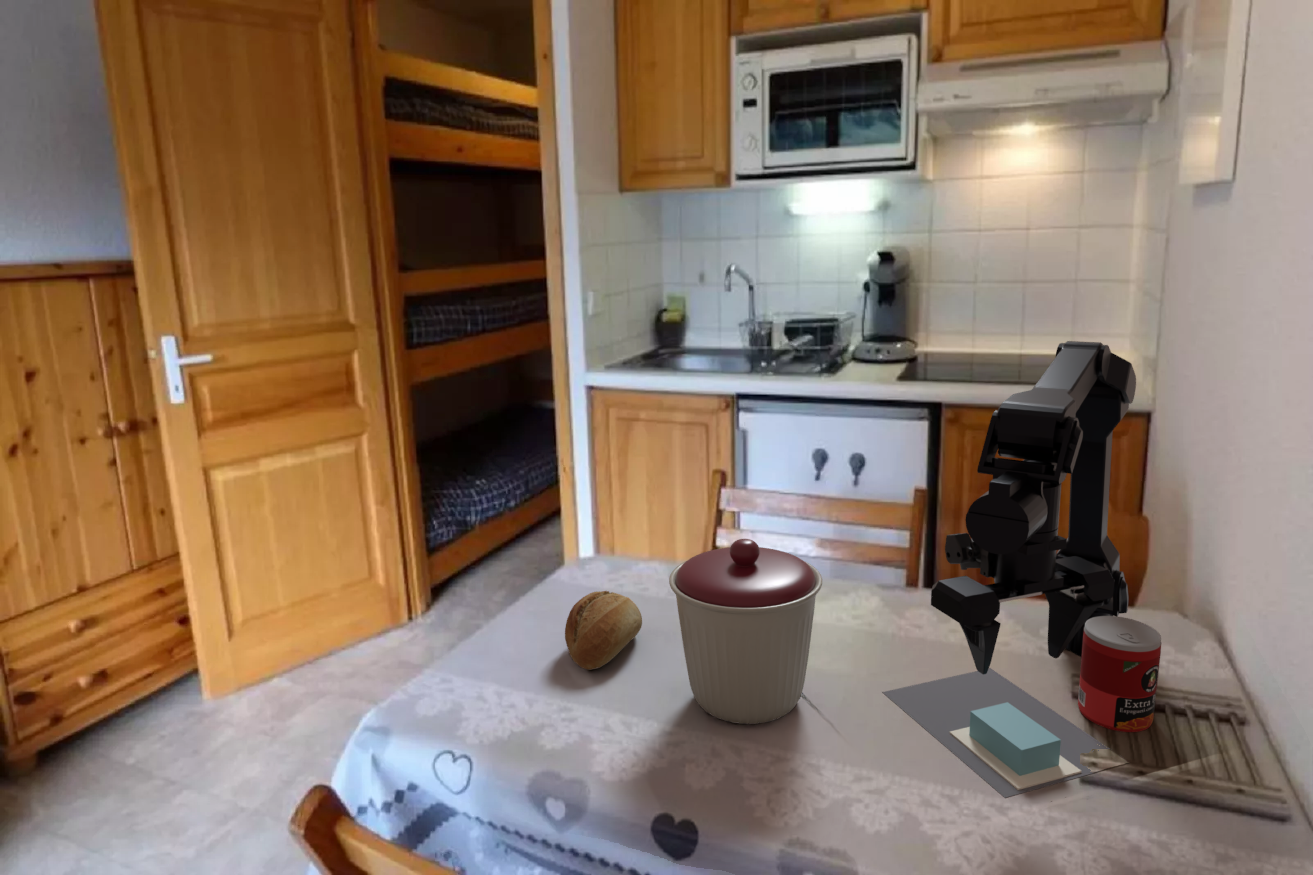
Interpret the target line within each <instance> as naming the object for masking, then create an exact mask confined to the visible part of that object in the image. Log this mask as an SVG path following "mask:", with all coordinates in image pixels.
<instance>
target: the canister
mask: <svg viewBox="0 0 1313 875" xmlns="http://www.w3.org/2000/svg"><path fill="white" fill-rule="evenodd" d="M668 580H669V581H668V584H669V588H671V590H672V592H673V594H675V597H676V598H675V599H676V605H677V611H678V612H677V613H678V619H679V625H680V631H681V632H680V633H681V640H682V646H683V652H684V658H685V659H684V660H685V664H686V669H687V675H688V682H689V686H690V690H691V692H692V694H693V696H694V699H695V700H696V702H697V704H698V705H699V706H700V708H701V709H703V710H704V711H705V712H706V713H708V714H709V715H711V716H712V717H715V718H717V719H719V720H724V721H725V722H731V723H732V724H736V723H737V724H740V725H744V724H746V725H751V724H753V725H754V724H755V725H757V724H765V723H767V722H772V721H774V720H779V719H780V718H782V717H784V716H785V715H787V714H789V713H790V712H791V711H792V710H793V709H794V708H795V707H796V705H797V704H798V703H799V701H800V699H801V697H802V693H803V689H804V686H805V681H806V675H807V668H808V663H809V654H810V646H811V640H812V630H813V622H814V615H815V608H816V607H815V606H816V596H817V594H819V593H820V590H821V588H822V586H823V577H822V574H821V572H820V571H819V569H817V568H816V567H814V566H813V564H810V563H809V562H807V561H804V560H803V559H802V558H800V557H798V556H796V555H794V554H791V553H790V552H789V553H788V552H785V551H782V550H778V549H775V548H768V547H760V546H759V545H758V544H757V542H755V541H754V540H753V539H750V538H740V539H736V540H735V541H734V542H732V544H731V545H730V546H729V547H722V548H717V549H716V548H715V549H711V550H707V551H704V552H701V553H699V554H696V555H694V556H692V557H690V558H689V559H687V560H685V561H684V562H682V563H680V564H679V565H677V566H676V567H675V568H674V569H673V570H672V572H671V573H670V575H669V578H668Z"/></svg>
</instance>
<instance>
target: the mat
mask: <svg viewBox="0 0 1313 875" xmlns="http://www.w3.org/2000/svg"><path fill="white" fill-rule="evenodd" d="M882 693H883V694H884V696H886V698H888V699H889V700H890V701H891V702H893V703H894V704H895V705H896V706H898V707H899V709H901V710H902V711H903V712H904V713H906V714H907V716H909V717H910V718H912V720H913V721H915V722H916V723H917V724H919V726H920V727H922V728H923V729H925V731H926V732H928V733H929V734H930V735H931V736H932V737H933V738H934V739H936V740H937V741H938V742H939V743H940V744H941V745H943V747H945V748H946V749H947V750H949V752H951V753H952V754H953V755H955V757H957V759H959V760H960V761H961V762H962V763H963V764H964V765H966V766H967V767H968V768H969V769H971V771H972V772H974V773H975V774H976V775H977V776H979V778H981V779H982V780H983V781H984V782H986V784H988V785H989V786H991V787H992V789H994V790H995V791H996V792H997V793H998V794H1000V795H1001V796H1002V797H1003V798H1004V799H1007V798H1010V797H1014V796H1017V795H1021V794H1024V793H1028V792H1031V791H1034V790H1038V789H1042V788H1046V787H1050V786H1054V785H1058V784H1059V783H1060V784H1061V783H1064V782H1067V781H1071V780H1075V779H1078V778H1082V777H1085V776H1089V775H1093V774H1094V773H1092V772H1090V771H1091V770H1090V769H1088V768H1087V767H1088V766H1087V767H1086V766H1083V765H1082V764H1080V754H1081V753H1089V752H1090V751H1091V750H1092V749H1111V748H1110V747H1108V746H1107V745H1105V744H1104V743H1102V742H1101V741H1100V740H1098V739H1097V738H1095V737H1093V736H1092V735H1091V734H1089V733H1088V732H1086V731H1084V730H1083V729H1082V728H1080V727H1078V726H1077V725H1075V723H1072V722H1071V721H1070V720H1068V719H1067V718H1066V717H1064V716H1062V715H1061V714H1059V713H1058V712H1056V711H1055V710H1053V709H1052V708H1050V707H1049V706H1048V705H1046V704H1044V702H1041V701H1040V700H1039V699H1037V698H1035V696H1032V695H1031V694H1030V693H1028V692H1026V691H1025V690H1023V689H1022V688H1020V687H1019V685H1016V684H1015V683H1013V682H1011V681H1010V680H1009V679H1007V677H1004V676H1003V675H1001V674H999V673H998V672H997V671H995V669H992V668H991V667H989V669H988V671H987V674H984V675H983V674H981V673H980V672H979V671H978V670H976V671H971V672H965V673H962V674H957V675H953V676H948V677H944V678H939V679H935V680H930V681H926V682H922V683H917V684H912V685H907V686H903V687H899V688H895V689H894V688H893V689H890V690H886V691H882ZM1007 702H1008V703H1009V704H1011V705H1012V706H1014V707H1015V708H1016V709H1018V710H1019V711H1021V712H1022V713H1024V714H1025V715H1026V716H1028V717H1029V718H1031V719H1032V720H1033V721H1035V722H1036V723H1038V724H1039V725H1041V726H1042V727H1043V728H1045V729H1046V730H1048V731H1049V732H1050V733H1052V734H1053V735H1055V736H1056V737H1058V738H1059V739H1060V740H1061V745H1060V757H1059V765H1058V766H1055V767H1051V768H1047V769H1044V770H1040V771H1036V772H1033V773H1029V774H1025V775H1022V776H1019V775H1018V774H1017V773H1015V772H1014V771H1013V770H1012V769H1010V768H1009V767H1008V766H1007V765H1005V764H1004V763H1003V762H1002V761H1000V760H999V759H998V758H997V757H995V756H994V755H993V754H992V753H991V752H989V751H988V750H987V749H986V748H984V747H983V746H982V745H981V744H979V743H978V742H977V741H976V740H974V739H973V738H972V737H971V736H969V730H970V711H974V710H978V709H982V708H986V707H990V706H994V705H998V704H1003V703H1007ZM1097 744H1098V745H1097ZM1102 744H1103V745H1102ZM1099 745H1100V746H1099ZM1104 745H1105V746H1104ZM1106 747H1107V748H1106ZM1093 751H1094V750H1093ZM1093 751H1092V752H1093ZM1098 751H1099V750H1098ZM1120 756H1121V757H1123V756H1122V755H1120Z"/></svg>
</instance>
